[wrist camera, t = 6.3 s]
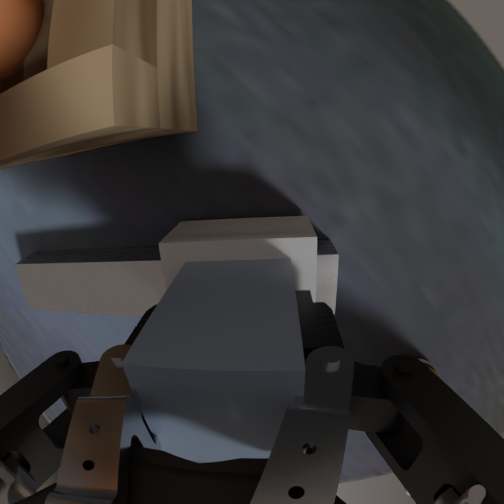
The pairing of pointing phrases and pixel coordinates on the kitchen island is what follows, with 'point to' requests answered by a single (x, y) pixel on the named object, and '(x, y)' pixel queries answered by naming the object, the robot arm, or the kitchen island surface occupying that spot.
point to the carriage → (225, 336)
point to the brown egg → (18, 32)
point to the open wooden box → (100, 79)
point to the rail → (124, 279)
